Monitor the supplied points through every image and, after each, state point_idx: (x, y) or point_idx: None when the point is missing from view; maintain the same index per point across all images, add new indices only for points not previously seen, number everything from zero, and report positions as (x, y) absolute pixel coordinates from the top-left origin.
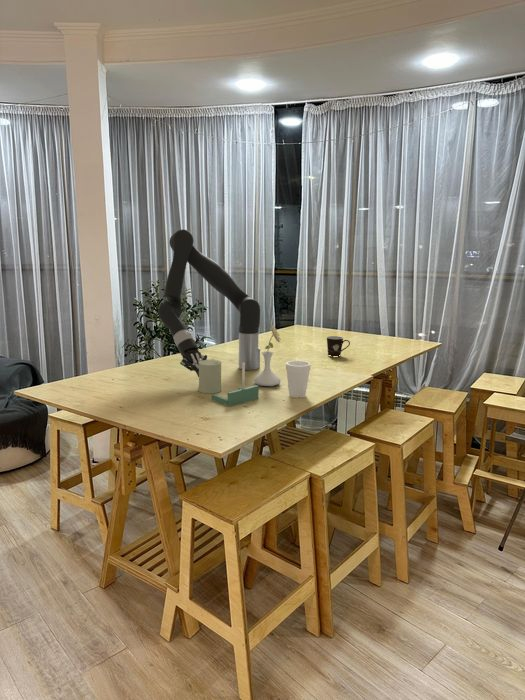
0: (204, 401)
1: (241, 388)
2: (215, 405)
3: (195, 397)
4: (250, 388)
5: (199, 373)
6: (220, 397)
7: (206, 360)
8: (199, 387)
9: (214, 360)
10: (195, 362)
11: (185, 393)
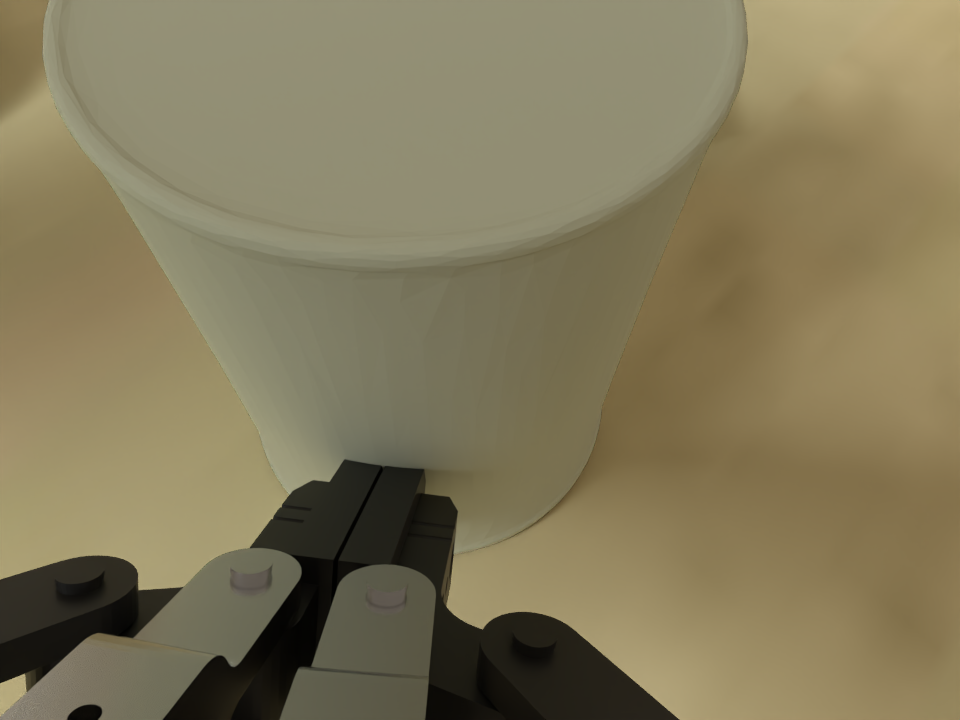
0: (777, 164)
1: None
2: (754, 44)
3: (786, 313)
4: None
5: (649, 284)
6: None
7: (250, 183)
8: (594, 429)
9: (99, 39)
10: (388, 675)
11: (813, 536)
